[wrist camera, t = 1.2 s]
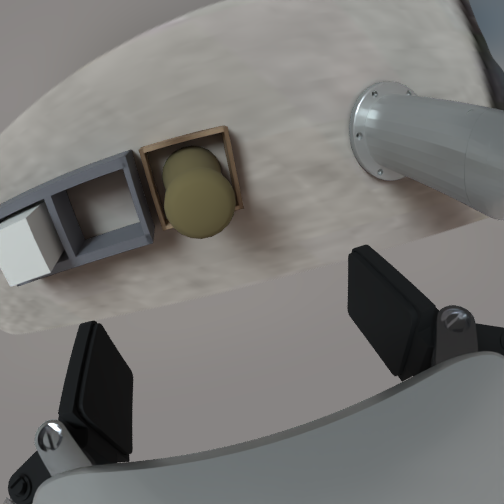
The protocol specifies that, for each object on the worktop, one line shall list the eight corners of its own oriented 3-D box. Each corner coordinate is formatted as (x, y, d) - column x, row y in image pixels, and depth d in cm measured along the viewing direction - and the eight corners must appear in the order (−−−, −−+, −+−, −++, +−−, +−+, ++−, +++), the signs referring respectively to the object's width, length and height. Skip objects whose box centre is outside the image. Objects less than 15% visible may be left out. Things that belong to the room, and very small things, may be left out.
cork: (186, 214, 31) (194, 266, 22) (149, 171, 28) (138, 205, 19) (232, 179, 31) (262, 217, 21) (198, 133, 28) (212, 148, 18)
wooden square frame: (223, 125, 28) (227, 126, 26) (239, 202, 32) (243, 208, 30) (141, 147, 27) (138, 150, 25) (163, 223, 31) (163, 230, 29)
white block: (52, 194, 26) (25, 218, 20) (70, 240, 29) (50, 272, 23) (14, 211, 25) (-15, 237, 19) (33, 253, 28) (10, 286, 22)
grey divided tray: (131, 149, 27) (124, 156, 23) (154, 226, 31) (152, 244, 27) (1, 203, 24) (-17, 217, 21) (29, 268, 29) (17, 287, 25)
